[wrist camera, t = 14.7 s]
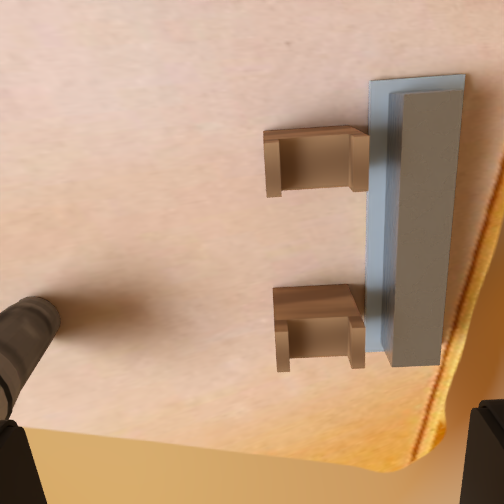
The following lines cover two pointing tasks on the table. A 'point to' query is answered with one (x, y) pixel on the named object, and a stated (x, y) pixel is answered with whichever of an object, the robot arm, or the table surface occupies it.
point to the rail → (418, 222)
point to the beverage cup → (23, 345)
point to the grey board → (378, 186)
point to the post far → (317, 324)
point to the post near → (316, 159)
